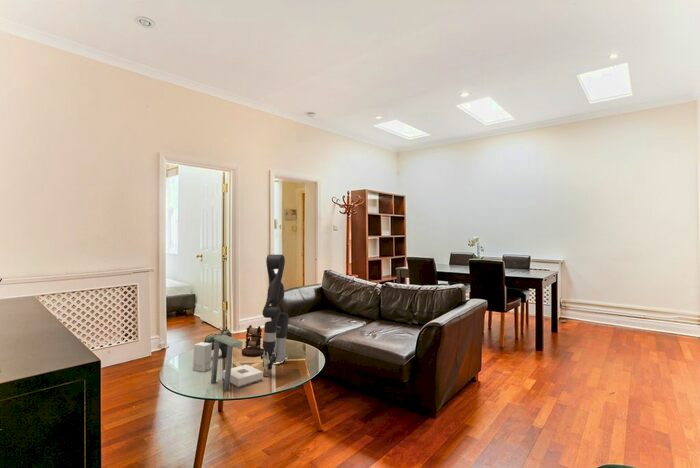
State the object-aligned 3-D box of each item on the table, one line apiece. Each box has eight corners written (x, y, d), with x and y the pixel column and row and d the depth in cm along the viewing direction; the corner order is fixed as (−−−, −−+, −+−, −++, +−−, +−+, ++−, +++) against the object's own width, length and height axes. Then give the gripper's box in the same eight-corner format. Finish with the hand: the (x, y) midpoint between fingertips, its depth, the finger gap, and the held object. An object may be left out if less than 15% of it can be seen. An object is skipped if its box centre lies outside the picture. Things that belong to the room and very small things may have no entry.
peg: (267, 373, 209) (268, 353, 209) (271, 375, 206) (273, 355, 207) (261, 375, 206) (263, 354, 206) (266, 377, 203) (267, 356, 204)
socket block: (245, 372, 209) (246, 364, 209) (262, 380, 199) (262, 371, 199) (221, 379, 196) (222, 370, 196) (237, 388, 186) (238, 378, 186)
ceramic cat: (226, 354, 240) (229, 325, 240) (231, 356, 235) (234, 327, 236) (198, 359, 224) (201, 329, 225) (203, 362, 220) (206, 331, 221)
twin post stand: (221, 379, 196) (225, 334, 197) (238, 388, 186) (242, 341, 187) (209, 382, 191) (213, 336, 192) (226, 392, 180) (231, 343, 181)
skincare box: (210, 368, 211) (213, 343, 211) (203, 372, 204) (205, 346, 205) (199, 366, 213) (201, 341, 213) (191, 370, 206) (194, 344, 207)
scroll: (266, 352, 250) (268, 324, 251) (257, 358, 236) (260, 329, 237) (246, 349, 253) (249, 322, 253) (237, 355, 238) (240, 326, 239)
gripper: (282, 341, 205) (279, 370, 205) (266, 335, 214) (264, 363, 214) (272, 343, 199) (269, 373, 199) (257, 337, 208) (254, 366, 208)
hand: (267, 367), depth 206 cm, fingers closed on peg, 4 cm apart
